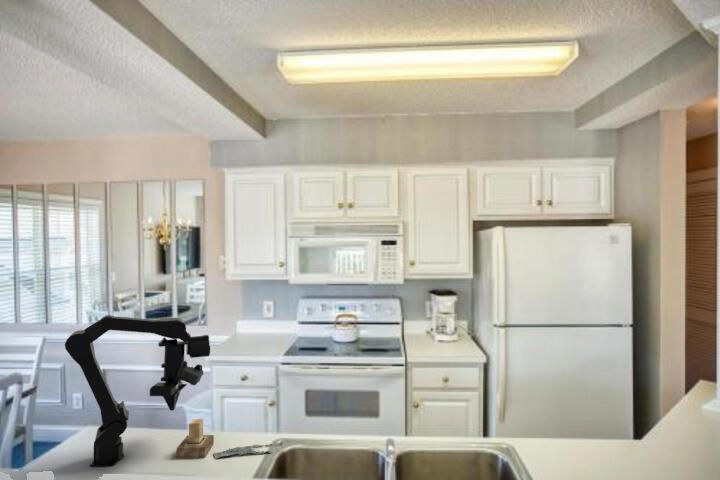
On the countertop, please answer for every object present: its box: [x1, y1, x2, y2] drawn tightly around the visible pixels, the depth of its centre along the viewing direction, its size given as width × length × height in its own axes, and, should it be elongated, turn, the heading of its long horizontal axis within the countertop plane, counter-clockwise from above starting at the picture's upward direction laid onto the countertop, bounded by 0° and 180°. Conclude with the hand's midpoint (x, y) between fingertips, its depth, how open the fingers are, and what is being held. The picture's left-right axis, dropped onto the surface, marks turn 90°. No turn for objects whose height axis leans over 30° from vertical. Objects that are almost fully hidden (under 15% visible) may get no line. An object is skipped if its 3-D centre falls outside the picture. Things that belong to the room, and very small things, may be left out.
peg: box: [188, 418, 204, 444], centre depth 126 cm, size 3×3×9 cm
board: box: [176, 434, 215, 459], centre depth 126 cm, size 8×8×3 cm
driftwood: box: [213, 440, 284, 460], centre depth 126 cm, size 21×7×2 cm, turn 102°
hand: (172, 410), depth 128 cm, fingers closed
